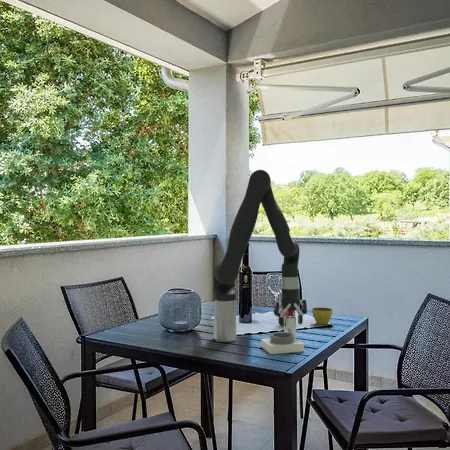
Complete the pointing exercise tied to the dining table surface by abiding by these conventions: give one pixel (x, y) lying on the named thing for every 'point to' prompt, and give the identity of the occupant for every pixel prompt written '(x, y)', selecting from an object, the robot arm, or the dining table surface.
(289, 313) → the soda can
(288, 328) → the pale grey cylinder
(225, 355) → the dining table surface
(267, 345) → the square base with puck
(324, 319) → the flower pot
